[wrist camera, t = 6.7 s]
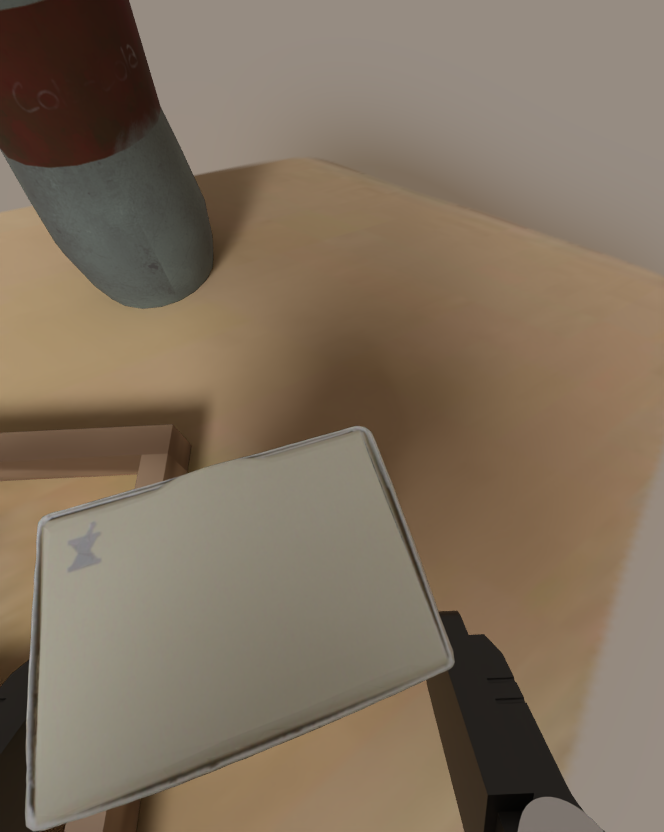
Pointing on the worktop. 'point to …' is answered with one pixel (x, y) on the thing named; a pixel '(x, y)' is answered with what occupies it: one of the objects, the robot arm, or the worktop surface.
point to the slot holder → (97, 456)
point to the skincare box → (218, 621)
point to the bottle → (100, 150)
